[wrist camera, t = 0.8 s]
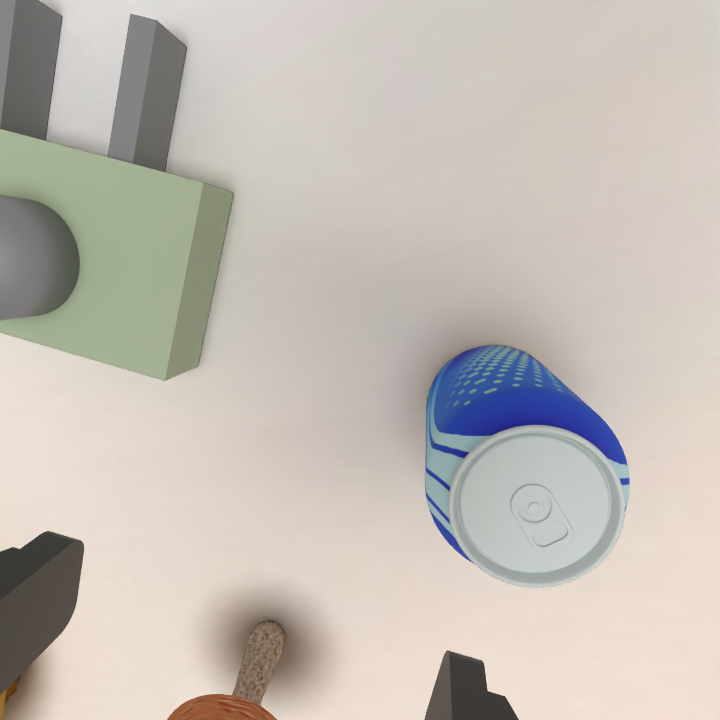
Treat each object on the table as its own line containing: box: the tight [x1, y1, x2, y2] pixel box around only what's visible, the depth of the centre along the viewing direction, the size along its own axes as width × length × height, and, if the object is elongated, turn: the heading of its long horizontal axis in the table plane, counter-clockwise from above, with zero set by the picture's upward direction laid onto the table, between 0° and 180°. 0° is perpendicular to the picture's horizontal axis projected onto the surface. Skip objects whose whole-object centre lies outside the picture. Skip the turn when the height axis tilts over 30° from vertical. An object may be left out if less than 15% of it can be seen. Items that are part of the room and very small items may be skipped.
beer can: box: [425, 345, 630, 588], centre depth 29 cm, size 8×8×16 cm
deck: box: [0, 0, 234, 381], centre depth 33 cm, size 20×20×9 cm
